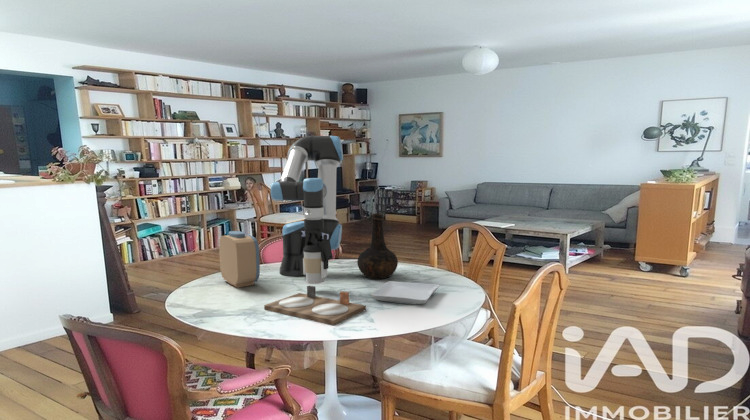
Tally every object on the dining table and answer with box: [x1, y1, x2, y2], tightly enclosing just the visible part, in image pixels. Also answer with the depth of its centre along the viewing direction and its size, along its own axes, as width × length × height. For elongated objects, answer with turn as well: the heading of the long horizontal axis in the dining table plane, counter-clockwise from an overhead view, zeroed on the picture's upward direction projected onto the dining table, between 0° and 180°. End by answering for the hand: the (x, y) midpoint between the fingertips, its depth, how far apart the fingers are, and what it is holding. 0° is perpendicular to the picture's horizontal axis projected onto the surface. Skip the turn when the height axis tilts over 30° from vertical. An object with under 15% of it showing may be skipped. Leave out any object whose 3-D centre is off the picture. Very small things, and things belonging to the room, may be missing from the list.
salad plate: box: [370, 280, 440, 305], centre depth 176 cm, size 21×21×3 cm
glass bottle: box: [357, 213, 399, 280], centre depth 207 cm, size 18×18×28 cm
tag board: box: [263, 285, 367, 326], centre depth 161 cm, size 30×18×6 cm, turn 57°
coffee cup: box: [303, 243, 325, 285], centre depth 184 cm, size 9×9×15 cm
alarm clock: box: [218, 230, 261, 288], centre depth 197 cm, size 21×10×22 cm, turn 37°
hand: (315, 275), depth 185 cm, fingers closed on coffee cup, 8 cm apart
